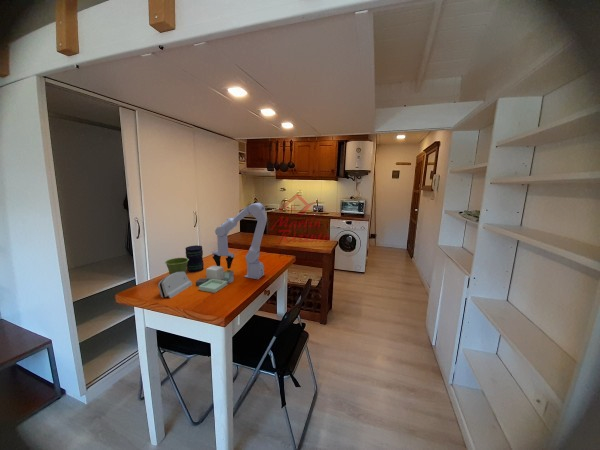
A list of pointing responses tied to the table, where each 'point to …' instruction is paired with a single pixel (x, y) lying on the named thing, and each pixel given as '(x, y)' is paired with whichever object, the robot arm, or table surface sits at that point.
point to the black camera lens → (194, 259)
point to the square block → (201, 281)
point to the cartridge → (228, 276)
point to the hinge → (174, 284)
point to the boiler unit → (214, 272)
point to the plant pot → (177, 265)
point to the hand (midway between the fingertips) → (223, 267)
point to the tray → (213, 285)
